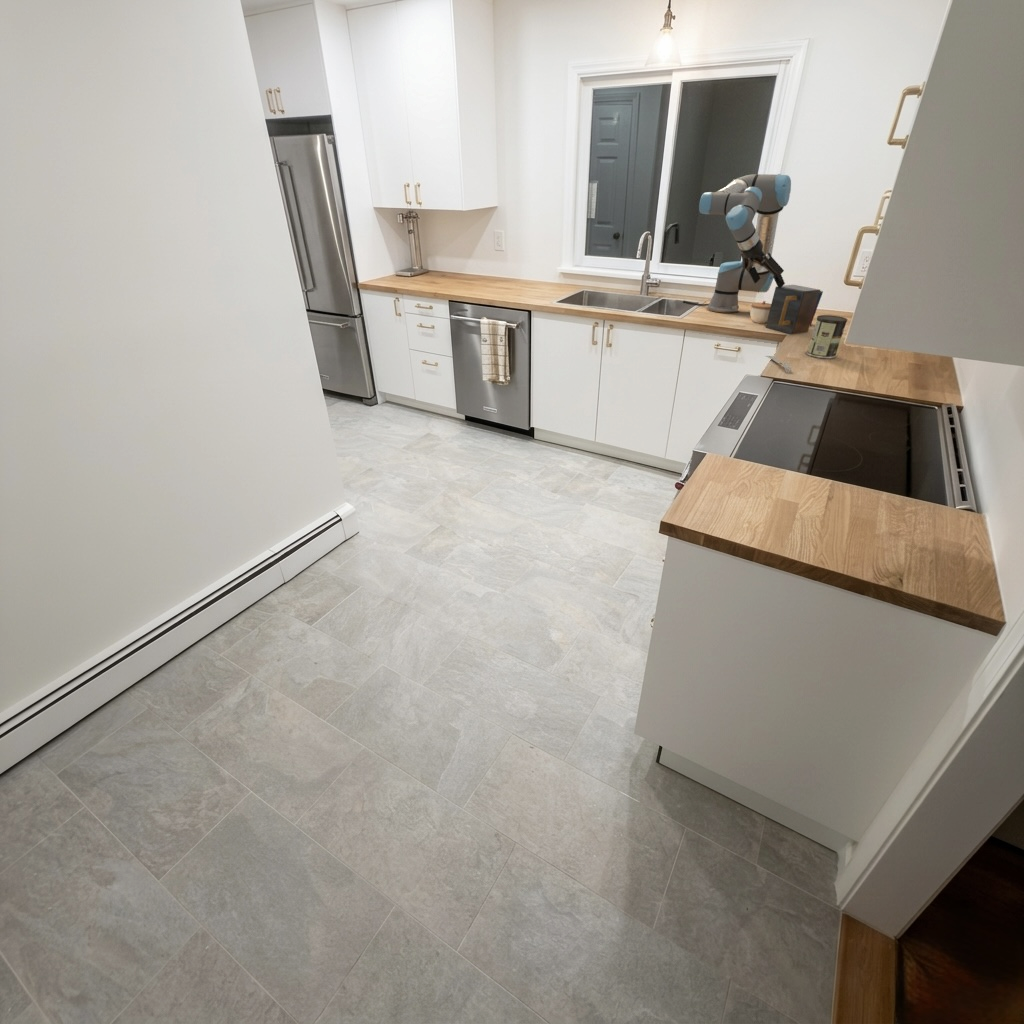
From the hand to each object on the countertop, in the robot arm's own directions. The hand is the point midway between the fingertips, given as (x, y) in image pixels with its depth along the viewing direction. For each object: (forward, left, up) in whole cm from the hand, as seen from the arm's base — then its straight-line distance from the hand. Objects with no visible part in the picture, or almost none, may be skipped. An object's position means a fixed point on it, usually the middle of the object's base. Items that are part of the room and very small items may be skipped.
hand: (769, 283), depth 222 cm
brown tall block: (-8, +41, -22) cm, 47 cm away
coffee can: (+31, +1, -22) cm, 38 cm away
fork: (+34, -26, -22) cm, 48 cm away
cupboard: (-4, +24, -22) cm, 32 cm away
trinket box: (-21, +25, -22) cm, 39 cm away
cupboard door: (-4, +15, -22) cm, 27 cm away
